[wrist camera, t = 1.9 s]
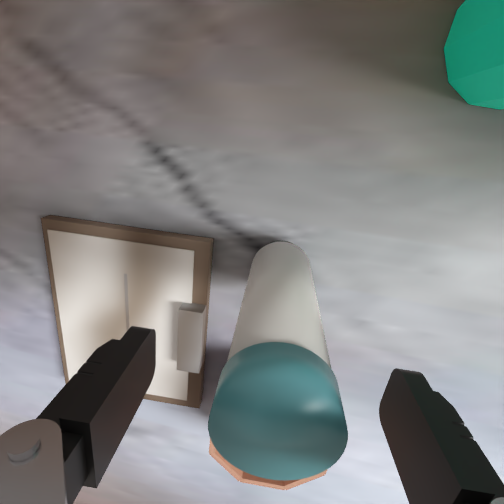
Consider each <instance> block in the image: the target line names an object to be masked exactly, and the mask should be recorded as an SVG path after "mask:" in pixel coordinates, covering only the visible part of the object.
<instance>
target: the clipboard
mask: <svg viewBox="0 0 504 504" xmlns="http://www.w3.org/2000/svg"><path fill="white" fill-rule="evenodd" d="M41 222H42V229H43V235H44V242H45V249H46V255H47V262H48V269H49V275H50V282H51V289H52V295H53V302H54V309H55V315H56V322H57V329H58V335H59V342H60V349H61V355H62V362H63V369H64V375H65V382H66V384H67V383H68V381H69V380H70V379H71V378H72V377H73V376H74V374H77V372H78V370H79V369H80V368H81V366H82V365H83V364H84V363H86V361H87V359H88V358H89V357H90V356H91V355H92V354H93V352H94V351H95V350H96V349H97V348H98V347H100V346H101V345H103V344H105V343H106V342H108V341H109V340H111V339H116V340H120V339H121V338H122V337H123V336H124V334H125V333H126V332H127V330H128V329H129V328H130V327H131V326H137V327H143V328H149V329H154V330H155V332H156V366H155V372H154V376H153V379H152V382H151V384H150V386H149V388H148V390H147V392H146V394H145V396H144V398H143V399H148V400H154V401H159V402H165V403H171V404H177V405H182V406H188V407H194V408H200V405H201V401H202V392H203V378H204V364H205V350H206V337H207V323H208V309H209V295H210V281H211V267H212V253H213V240H214V239H213V238H206V237H199V236H192V235H186V234H179V233H172V232H165V231H158V230H151V229H144V228H137V227H130V226H123V225H116V224H109V223H102V222H95V221H88V220H81V219H74V218H67V217H60V216H53V215H49V216H46V217H43V218H41Z"/></svg>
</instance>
